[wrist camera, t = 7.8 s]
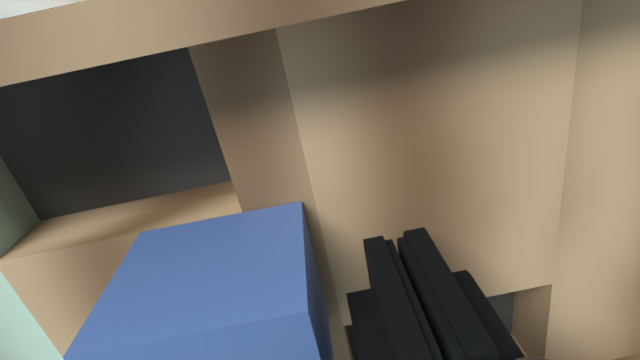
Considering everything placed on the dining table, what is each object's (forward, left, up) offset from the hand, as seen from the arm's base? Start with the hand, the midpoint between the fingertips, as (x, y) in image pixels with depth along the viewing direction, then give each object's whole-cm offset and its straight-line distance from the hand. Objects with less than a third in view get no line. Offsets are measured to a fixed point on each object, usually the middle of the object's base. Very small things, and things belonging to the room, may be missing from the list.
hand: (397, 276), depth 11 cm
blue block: (+4, +2, -1) cm, 5 cm away
